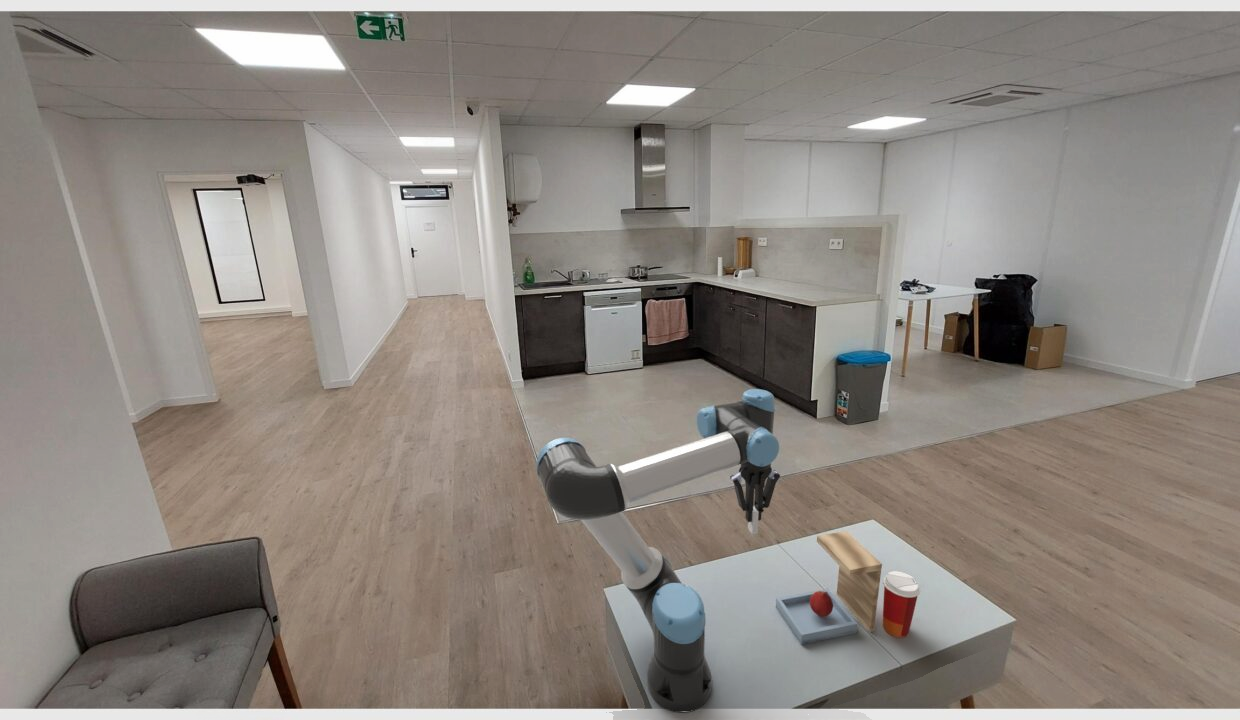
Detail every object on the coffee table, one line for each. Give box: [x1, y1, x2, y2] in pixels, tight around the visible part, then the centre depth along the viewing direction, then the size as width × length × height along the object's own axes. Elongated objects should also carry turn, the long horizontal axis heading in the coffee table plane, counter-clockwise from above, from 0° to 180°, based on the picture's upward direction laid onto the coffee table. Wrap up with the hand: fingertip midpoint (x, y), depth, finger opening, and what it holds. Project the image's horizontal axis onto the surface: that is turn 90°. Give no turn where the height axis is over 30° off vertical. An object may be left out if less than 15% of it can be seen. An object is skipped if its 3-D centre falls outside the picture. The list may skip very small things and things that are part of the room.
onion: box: [810, 589, 833, 617], centre depth 130 cm, size 6×6×8 cm
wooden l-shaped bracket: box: [816, 530, 883, 633], centre depth 130 cm, size 9×14×21 cm, turn 11°
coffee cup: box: [882, 570, 921, 639], centre depth 125 cm, size 8×8×15 cm
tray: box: [775, 588, 859, 645], centre depth 131 cm, size 16×13×3 cm
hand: (752, 530), depth 129 cm, fingers closed
